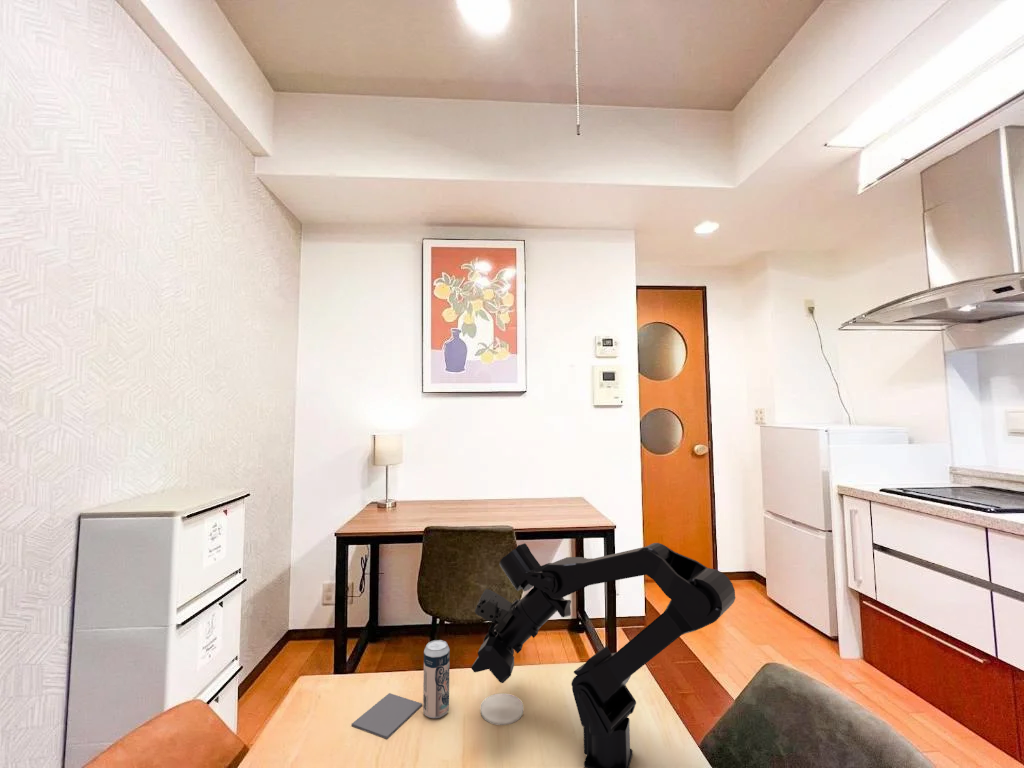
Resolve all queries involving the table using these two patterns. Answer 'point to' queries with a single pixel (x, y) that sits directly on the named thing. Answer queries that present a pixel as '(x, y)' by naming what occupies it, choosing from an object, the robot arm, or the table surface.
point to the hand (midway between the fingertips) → (473, 669)
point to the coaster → (501, 709)
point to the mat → (387, 715)
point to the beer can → (436, 679)
